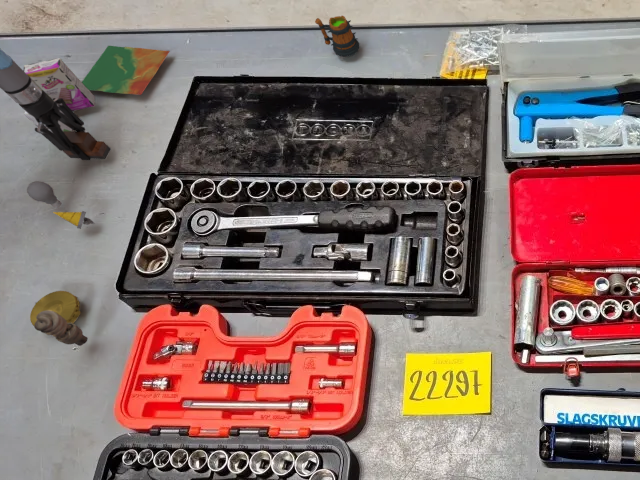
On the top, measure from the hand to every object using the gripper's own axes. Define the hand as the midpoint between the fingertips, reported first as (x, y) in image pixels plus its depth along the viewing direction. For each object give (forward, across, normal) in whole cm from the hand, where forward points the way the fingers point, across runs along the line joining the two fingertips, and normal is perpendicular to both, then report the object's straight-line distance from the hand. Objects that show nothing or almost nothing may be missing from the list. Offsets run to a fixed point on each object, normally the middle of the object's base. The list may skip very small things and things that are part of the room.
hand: (89, 152), depth 175 cm
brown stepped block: (0, 0, 0) cm, 0 cm away
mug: (+1, +54, -73) cm, 91 cm away
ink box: (+1, +9, +13) cm, 16 cm away
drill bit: (+1, -28, -10) cm, 30 cm away
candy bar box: (+1, +21, +13) cm, 25 cm away
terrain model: (+1, +39, +4) cm, 39 cm away
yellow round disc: (+1, -57, -16) cm, 59 cm away
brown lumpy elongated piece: (0, -65, -27) cm, 70 cm away
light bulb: (0, -21, +1) cm, 21 cm away
